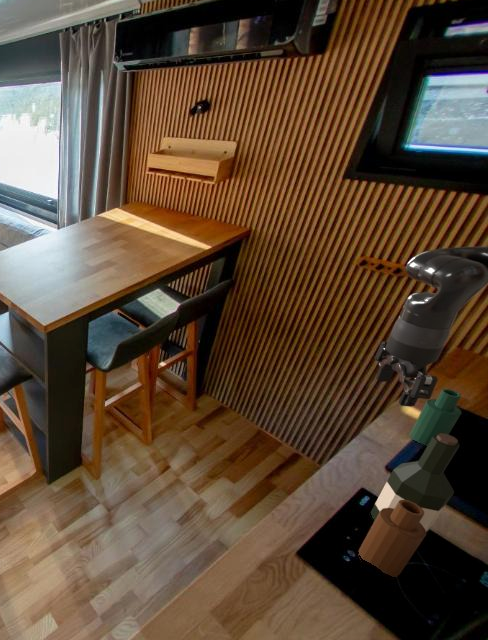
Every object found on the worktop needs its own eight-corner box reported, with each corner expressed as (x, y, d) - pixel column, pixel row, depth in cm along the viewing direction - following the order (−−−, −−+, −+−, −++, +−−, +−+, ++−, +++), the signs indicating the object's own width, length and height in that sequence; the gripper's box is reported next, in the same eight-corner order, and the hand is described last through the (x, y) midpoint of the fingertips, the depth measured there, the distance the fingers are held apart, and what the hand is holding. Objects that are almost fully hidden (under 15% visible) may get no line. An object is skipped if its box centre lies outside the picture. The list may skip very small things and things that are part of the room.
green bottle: (431, 434, 103) (458, 386, 95) (447, 450, 98) (476, 402, 91) (404, 430, 105) (428, 384, 98) (418, 446, 100) (444, 398, 93)
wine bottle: (369, 527, 86) (416, 441, 73) (369, 501, 91) (414, 415, 78) (425, 553, 80) (487, 463, 67) (422, 523, 85) (479, 434, 72)
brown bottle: (388, 552, 81) (421, 497, 73) (406, 582, 76) (444, 526, 68) (352, 544, 83) (381, 489, 75) (367, 573, 79) (400, 518, 70)
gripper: (468, 358, 72) (438, 417, 79) (418, 321, 84) (396, 374, 91) (415, 355, 76) (390, 411, 82) (374, 319, 87) (355, 371, 94)
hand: (393, 392), depth 86 cm, fingers open, 8 cm apart
